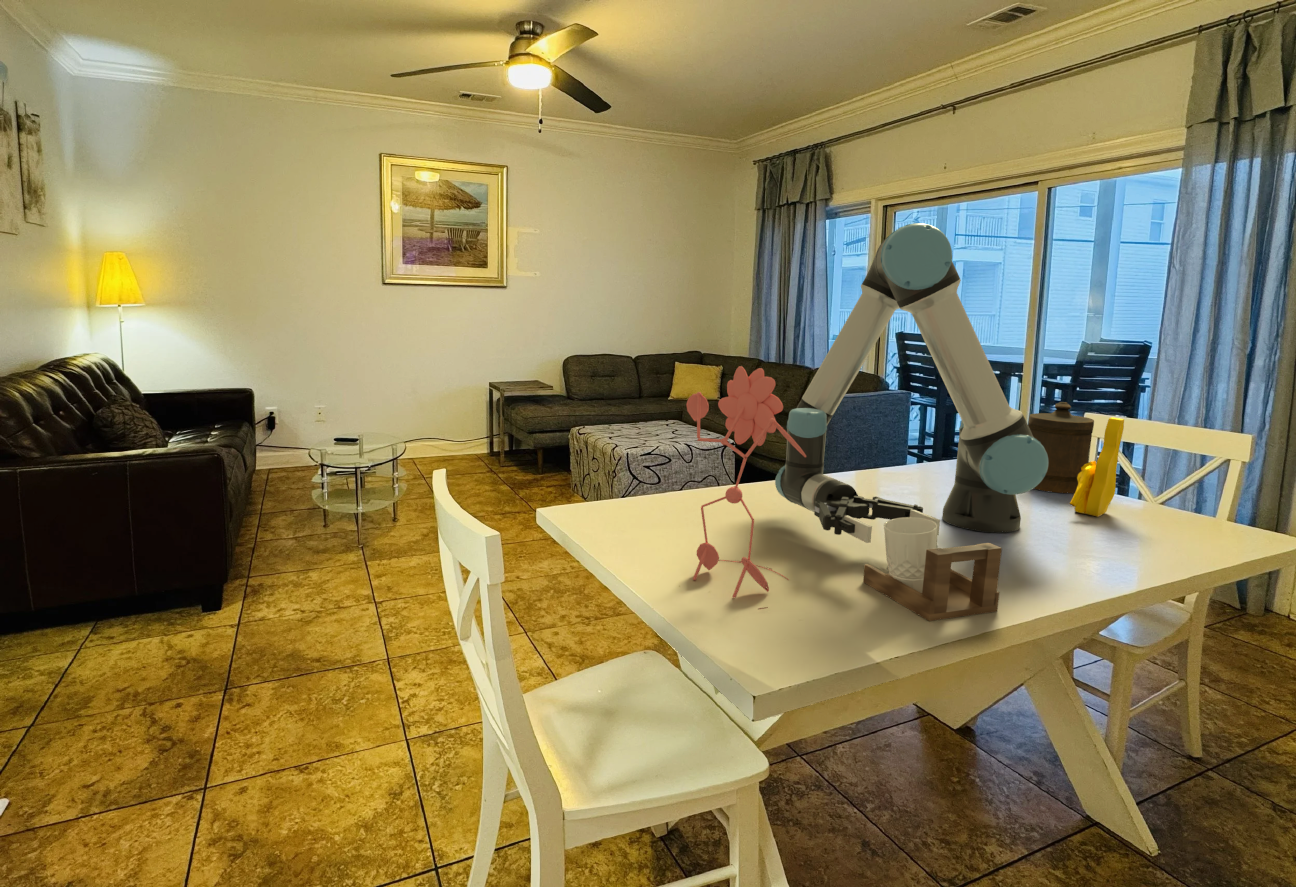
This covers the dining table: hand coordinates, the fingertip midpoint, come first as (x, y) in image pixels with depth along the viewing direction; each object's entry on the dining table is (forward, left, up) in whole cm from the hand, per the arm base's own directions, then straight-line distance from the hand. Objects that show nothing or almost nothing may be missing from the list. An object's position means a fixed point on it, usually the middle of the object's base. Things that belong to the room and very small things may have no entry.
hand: (904, 531), depth 123 cm
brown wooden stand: (-3, +6, -8) cm, 11 cm away
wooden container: (-55, -76, -9) cm, 94 cm away
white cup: (-1, +6, -7) cm, 9 cm away
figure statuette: (-53, -50, -9) cm, 73 cm away
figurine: (+26, +4, -9) cm, 28 cm away
